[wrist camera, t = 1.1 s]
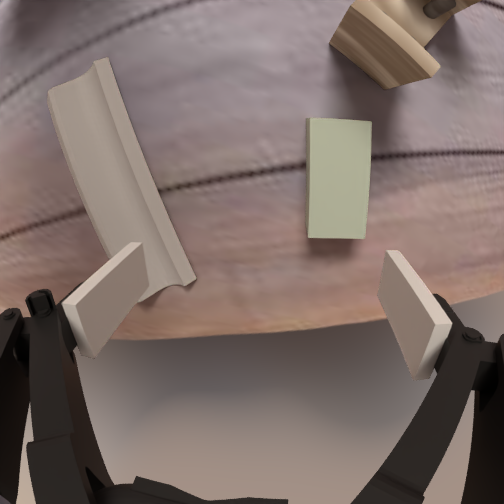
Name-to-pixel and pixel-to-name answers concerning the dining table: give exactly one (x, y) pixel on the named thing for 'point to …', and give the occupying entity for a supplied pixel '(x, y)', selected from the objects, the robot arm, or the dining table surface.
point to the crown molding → (115, 175)
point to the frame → (394, 37)
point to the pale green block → (337, 177)
